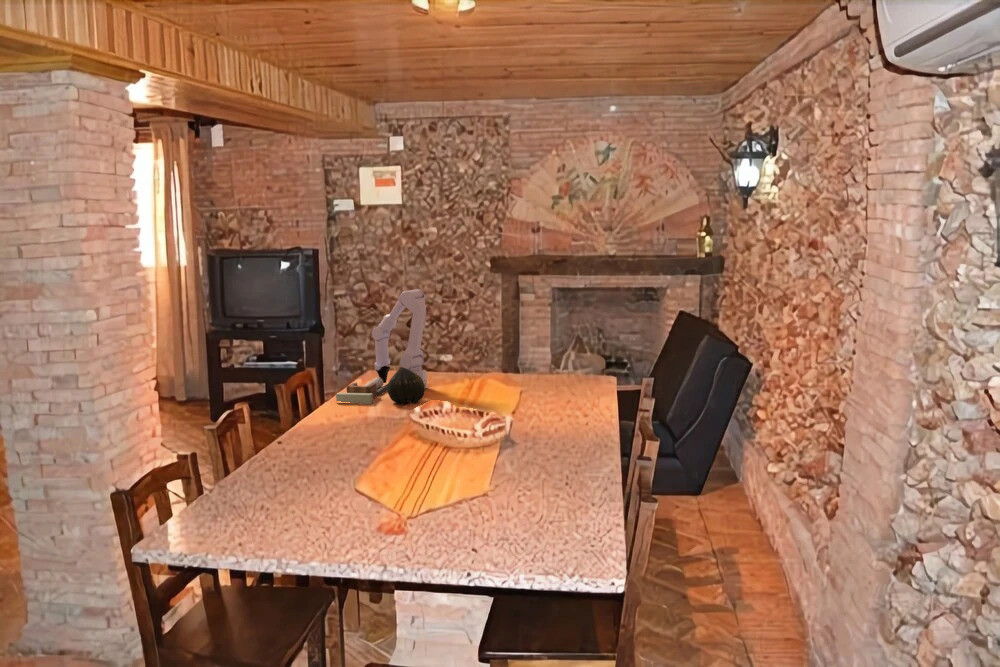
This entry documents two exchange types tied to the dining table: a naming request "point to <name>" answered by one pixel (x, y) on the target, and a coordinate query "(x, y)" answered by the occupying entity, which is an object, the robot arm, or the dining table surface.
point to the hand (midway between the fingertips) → (383, 382)
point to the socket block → (362, 389)
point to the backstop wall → (355, 397)
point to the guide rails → (382, 390)
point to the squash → (406, 387)
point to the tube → (376, 380)
